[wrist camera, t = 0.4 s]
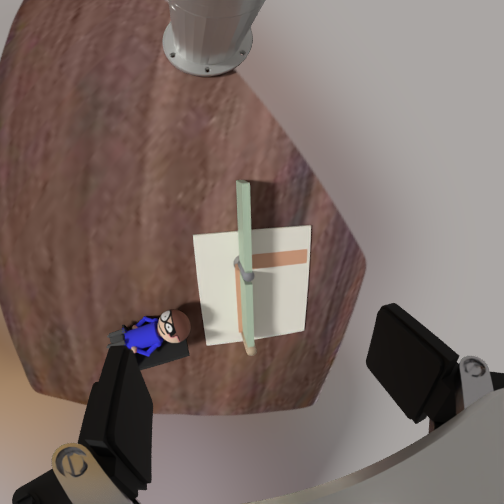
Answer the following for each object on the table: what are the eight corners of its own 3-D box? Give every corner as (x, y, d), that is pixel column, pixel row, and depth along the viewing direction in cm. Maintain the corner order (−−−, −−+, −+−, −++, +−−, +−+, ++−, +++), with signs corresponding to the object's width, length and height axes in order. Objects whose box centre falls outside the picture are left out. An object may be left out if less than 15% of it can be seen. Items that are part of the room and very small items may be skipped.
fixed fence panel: (237, 271, 42) (243, 286, 37) (247, 270, 42) (255, 285, 38) (241, 337, 47) (247, 356, 42) (250, 336, 47) (256, 354, 42)
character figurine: (106, 322, 41) (183, 295, 43) (125, 354, 44) (200, 331, 45) (93, 347, 34) (181, 320, 35) (117, 382, 36) (202, 359, 38)
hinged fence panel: (248, 267, 42) (254, 280, 38) (237, 269, 42) (243, 282, 38) (245, 179, 37) (252, 182, 33) (234, 180, 37) (239, 183, 33)
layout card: (193, 234, 39) (193, 235, 39) (310, 225, 43) (311, 225, 42) (206, 344, 46) (206, 345, 46) (303, 329, 50) (304, 330, 49)
